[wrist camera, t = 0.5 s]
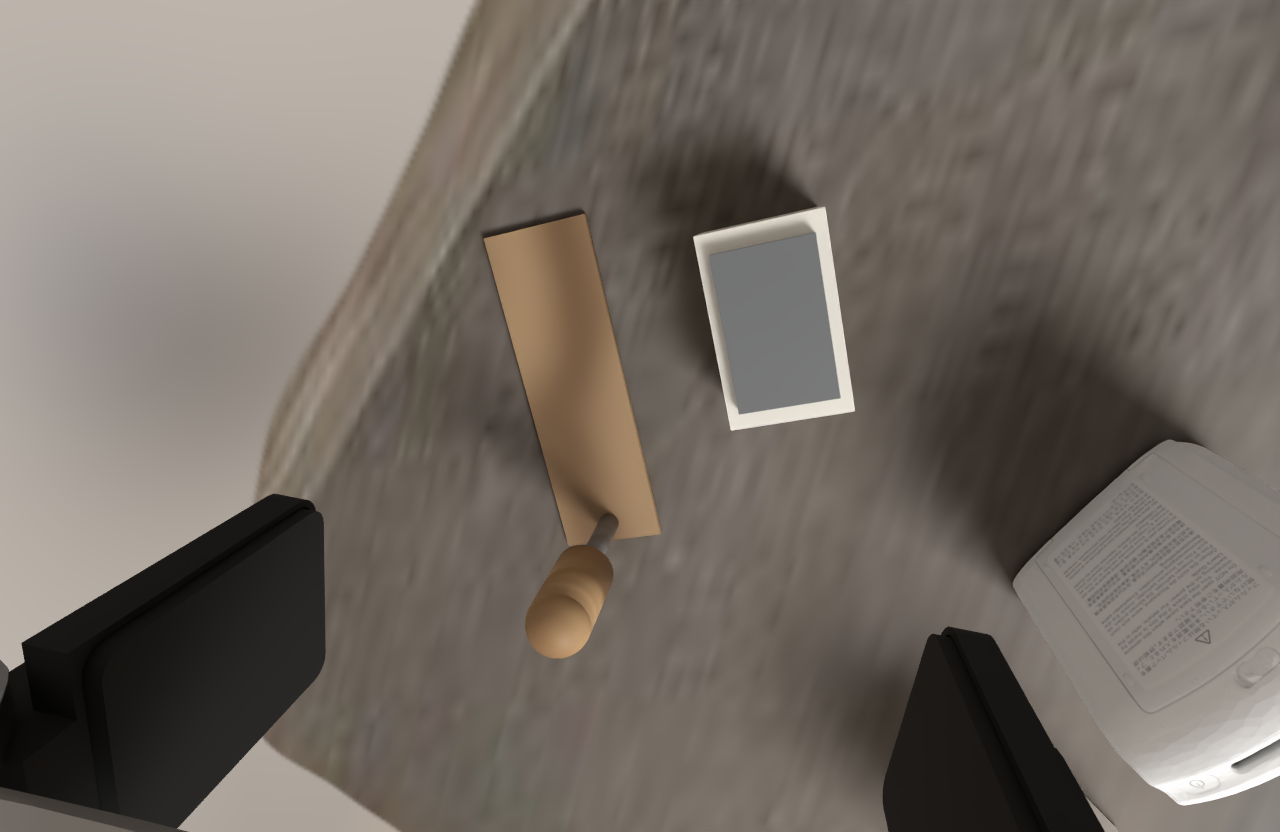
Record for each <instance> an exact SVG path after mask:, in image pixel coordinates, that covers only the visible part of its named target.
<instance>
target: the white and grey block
mask: <svg viewBox="0 0 1280 832" xmlns="http://www.w3.org/2000/svg"><path fill="white" fill-rule="evenodd" d="M693 238H694V243H695V248H696V254H697V259H698V264H699V269H700V274H701V279H702V284H703V289H704V295H705V300H706V305H707V310H708V315H709V320H710V325H711V330H712V336H713V341H714V346H715V351H716V356H717V361H718V366H719V371H720V377H721V382H722V387H723V392H724V397H725V402H726V407H727V412H728V418H729V423H730V428H731V431H732V430H738V429H745V428H751V427H757V426H764V425H770V424H777V423H783V422H790V421H796V420H802V419H809V418H815V417H822V416H828V415H835V414H841V413H847V412H854V411H855V407H854V401H853V394H852V387H851V380H850V373H849V366H848V360H847V353H846V346H845V339H844V332H843V325H842V318H841V312H840V305H839V298H838V291H837V284H836V277H835V271H834V264H833V257H832V250H831V243H830V236H829V230H828V223H827V216H826V209H825V207H814V208H810V209H805V210H801V211H796V212H792V213H787V214H783V215H779V216H774V217H770V218H765V219H761V220H756V221H752V222H747V223H743V224H739V225H734V226H730V227H725V228H721V229H716V230H712V231H707V232H703V233H701V234H698V235H696V236H693Z"/></svg>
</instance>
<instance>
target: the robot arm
mask: <svg viewBox="0 0 1280 832" xmlns="http://www.w3.org/2000/svg"><path fill="white" fill-rule="evenodd" d="M22 649H23V655H24V660H25V662H24V663H23V664H21V665H20V666H18V667H16V668H15V669H13V670H12V671H10V672H9V669H8V668H7V666H6V665H5V664H4V663H3V662H2V661H1V660H0V832H187V831H183V830H179V829H177V828H178V827H179V826H180V825H181V824H182V823H183V822H184V820H185V819H186V818H187V817H188V816H189V815H190V814H191V813H192V812H193V811H194V810H195V808H197V806H198V805H199V804H200V803H201V802H202V801H203V800H204V799H205V798H206V797H207V796H208V795H209V793H210V792H211V791H212V790H213V789H214V788H215V787H216V786H217V785H218V784H219V783H220V782H221V781H222V779H223V778H224V777H225V776H226V775H227V774H228V773H229V772H230V771H231V770H232V769H233V768H234V766H235V765H236V764H237V763H238V762H239V761H240V760H241V759H242V758H243V757H244V756H245V755H246V754H247V752H248V751H249V750H250V749H251V748H252V747H253V746H254V745H255V744H256V743H257V742H258V741H259V740H260V738H261V737H262V736H263V735H264V734H265V733H266V732H267V731H268V730H269V729H270V728H271V727H272V726H273V724H274V723H275V722H276V721H277V720H278V719H279V718H280V717H281V716H282V715H283V714H284V713H285V711H286V710H287V709H288V708H289V707H290V706H291V705H292V704H293V703H294V702H295V701H296V700H297V699H298V697H299V696H300V695H301V694H302V693H303V692H304V691H305V690H306V689H307V688H308V687H309V686H310V684H311V683H312V682H313V681H314V680H315V679H316V678H317V676H318V675H319V673H320V671H321V669H322V667H323V664H324V660H325V585H324V522H323V517H322V514H321V513H319V512H317V511H316V510H315V507H314V505H313V503H312V502H311V501H309V500H304V499H299V498H294V497H289V496H284V495H279V494H272V495H269V496H267V497H265V498H264V499H262V500H260V501H259V502H257V503H255V504H254V505H252V506H250V507H249V508H247V509H245V510H244V511H242V512H240V513H239V514H237V515H235V516H234V517H232V518H230V519H229V520H227V521H225V522H224V523H222V524H220V525H218V526H217V527H215V528H214V529H212V530H210V531H208V532H207V533H205V534H203V535H202V536H200V537H198V538H197V539H195V540H193V541H192V542H190V543H189V544H187V545H185V546H183V547H182V548H180V549H178V550H177V551H175V552H173V553H172V554H170V555H168V556H166V557H165V558H163V559H161V560H160V561H158V562H157V563H155V564H153V565H151V566H150V567H148V568H146V569H145V570H143V571H141V572H140V573H138V574H137V575H135V576H133V577H131V578H130V579H128V580H126V581H125V582H123V583H121V584H120V585H118V586H116V587H115V588H113V589H111V590H110V591H108V592H107V593H105V594H103V595H101V596H99V597H98V598H96V599H94V600H93V601H91V602H89V603H88V604H86V605H84V606H83V607H81V608H79V609H78V610H76V611H74V612H73V613H71V614H69V615H68V616H66V617H64V618H63V619H61V620H59V621H57V622H56V623H54V624H52V625H51V626H49V627H47V628H46V629H44V630H42V631H41V632H39V633H37V634H36V635H34V636H32V637H31V638H29V639H27V640H26V641H24V642H22ZM883 807H884V812H885V817H886V821H887V826H888V831H889V832H1105V831H1104V829H1103V827H1102V825H1101V824H1100V822H1099V820H1098V818H1097V817H1096V815H1095V813H1094V811H1093V809H1092V808H1091V806H1090V804H1089V802H1088V801H1087V799H1086V797H1085V795H1084V793H1083V792H1082V790H1081V788H1080V786H1079V785H1078V783H1077V781H1076V779H1075V777H1074V776H1073V774H1072V772H1071V770H1070V769H1069V767H1068V765H1067V763H1066V761H1065V760H1064V758H1063V757H1062V755H1061V754H1060V753H1059V751H1058V750H1057V749H1056V748H1054V746H1053V744H1052V742H1051V741H1050V739H1049V737H1048V735H1047V733H1046V732H1045V730H1044V728H1043V726H1042V724H1041V723H1040V721H1039V719H1038V717H1037V716H1036V714H1035V712H1034V710H1033V708H1032V707H1031V705H1030V703H1029V701H1028V699H1027V698H1026V696H1025V694H1024V692H1023V690H1022V689H1021V687H1020V685H1019V683H1018V681H1017V680H1016V678H1015V676H1014V674H1013V672H1012V671H1011V669H1010V667H1009V665H1008V663H1007V662H1006V660H1005V658H1004V656H1003V654H1002V653H1001V651H1000V649H999V647H998V645H997V644H996V642H995V640H994V639H993V638H992V636H991V635H988V634H983V633H978V632H973V631H968V630H963V629H958V628H953V627H947V628H945V629H944V631H943V632H942V634H941V635H936V634H932V635H930V636H929V638H928V640H927V642H926V645H925V648H924V652H923V655H922V658H921V662H920V665H919V668H918V671H917V675H916V678H915V681H914V684H913V688H912V691H911V694H910V698H909V701H908V704H907V707H906V711H905V714H904V717H903V721H902V724H901V727H900V730H899V734H898V737H897V740H896V744H895V747H894V750H893V753H892V757H891V760H890V763H889V766H888V770H887V773H886V776H885V780H884V786H883Z"/></svg>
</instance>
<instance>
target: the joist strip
mask: <svg viewBox="0 0 1280 832" xmlns="http://www.w3.org/2000/svg"><path fill="white" fill-rule="evenodd" d="M484 242H485V245H486V249H487V253H488V256H489V260H490V263H491V267H492V271H493V274H494V278H495V282H496V285H497V289H498V292H499V296H500V300H501V303H502V307H503V310H504V314H505V318H506V321H507V325H508V329H509V332H510V336H511V339H512V343H513V347H514V350H515V354H516V357H517V361H518V365H519V368H520V372H521V376H522V379H523V383H524V386H525V390H526V394H527V397H528V401H529V404H530V408H531V412H532V415H533V419H534V423H535V426H536V430H537V433H538V437H539V441H540V444H541V448H542V451H543V455H544V459H545V462H546V466H547V470H548V473H549V477H550V480H551V484H552V488H553V491H554V495H555V498H556V502H557V506H558V509H559V513H560V517H561V520H562V524H563V527H564V531H565V535H566V538H567V542H568V545H569V546H571V545H579V544H586V543H588V541H589V539H590V537H591V535H592V533H593V531H594V530H595V528H596V526H597V524H598V522H599V520H600V518H601V517H602V516H603V515H604V514H608V513H609V514H613V515H615V516H616V517H617V519H618V521H619V526H618V528H617V530H616V532H615V534H614V537H613V539H612V540H617V539H625V538H633V537H640V536H648V535H656V534H661V527H660V523H659V518H658V514H657V510H656V506H655V502H654V497H653V493H652V489H651V485H650V481H649V476H648V472H647V468H646V464H645V460H644V455H643V451H642V447H641V443H640V439H639V434H638V430H637V426H636V422H635V417H634V413H633V409H632V405H631V401H630V396H629V392H628V388H627V384H626V380H625V375H624V371H623V367H622V363H621V359H620V354H619V350H618V346H617V342H616V338H615V333H614V329H613V325H612V321H611V316H610V312H609V308H608V304H607V300H606V295H605V291H604V287H603V283H602V279H601V274H600V270H599V266H598V262H597V258H596V253H595V249H594V245H593V241H592V237H591V232H590V228H589V224H588V220H587V216H586V214H581V215H577V216H573V217H569V218H565V219H561V220H557V221H553V222H549V223H545V224H541V225H537V226H533V227H529V228H525V229H521V230H517V231H513V232H509V233H505V234H501V235H496V236H492V237H488V238H484Z"/></svg>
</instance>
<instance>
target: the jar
mask: <svg viewBox="0 0 1280 832" xmlns="http://www.w3.org/2000/svg"><path fill="white" fill-rule="evenodd" d="M1085 797H1086V796H1085ZM1086 799H1087V801H1088V802H1089V804H1090V806H1091V808H1092V809H1093V811H1094V813H1095V815H1096V817H1097V818H1098V820H1099V822H1100V824H1101V825H1102V827H1103V829H1104V831H1105V832H1119V830H1118V829H1117V828H1116V827H1115V826H1114V825H1113V824H1112V823H1111V822H1110V821H1109V820H1108V819H1107V818H1106V817H1105V816H1104V815H1103V814H1102V813H1101V812H1100V811H1099V810H1098V809H1097V808H1096V807H1095V805H1094V804H1093V803H1092V802H1091V801H1090V800H1089V799H1088V798H1087V797H1086Z"/></svg>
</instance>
